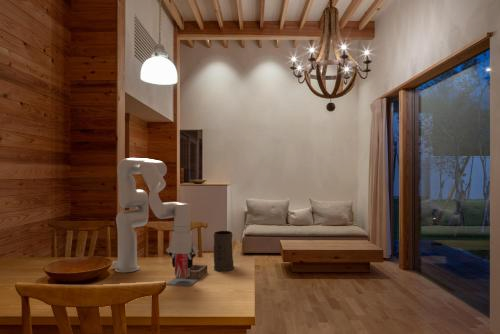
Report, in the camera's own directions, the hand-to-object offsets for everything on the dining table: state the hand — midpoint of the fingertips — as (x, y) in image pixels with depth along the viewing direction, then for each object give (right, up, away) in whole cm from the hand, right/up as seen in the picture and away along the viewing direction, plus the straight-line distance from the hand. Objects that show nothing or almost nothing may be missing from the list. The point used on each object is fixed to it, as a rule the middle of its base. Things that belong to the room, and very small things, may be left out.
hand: (182, 266), depth 175 cm
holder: (+3, -8, +12) cm, 14 cm away
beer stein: (+18, -8, +25) cm, 32 cm away
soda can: (0, -5, 0) cm, 5 cm away
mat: (0, -7, 0) cm, 7 cm away
